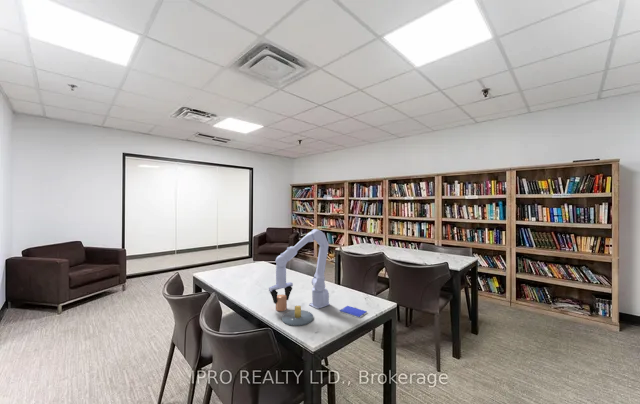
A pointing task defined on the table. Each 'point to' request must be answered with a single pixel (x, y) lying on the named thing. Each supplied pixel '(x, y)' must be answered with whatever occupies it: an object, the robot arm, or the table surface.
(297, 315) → the capsule
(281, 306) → the tan piece
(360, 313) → the hard drive
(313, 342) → the table surface
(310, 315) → the lid
